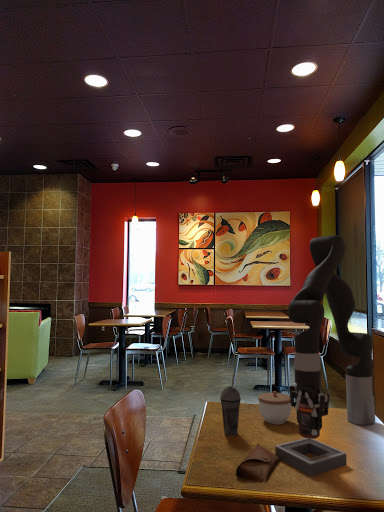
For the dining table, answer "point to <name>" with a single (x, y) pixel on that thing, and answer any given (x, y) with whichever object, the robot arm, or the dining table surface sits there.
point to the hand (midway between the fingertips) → (309, 426)
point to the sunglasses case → (257, 465)
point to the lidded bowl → (275, 407)
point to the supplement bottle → (306, 420)
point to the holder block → (321, 463)
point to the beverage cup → (230, 409)
